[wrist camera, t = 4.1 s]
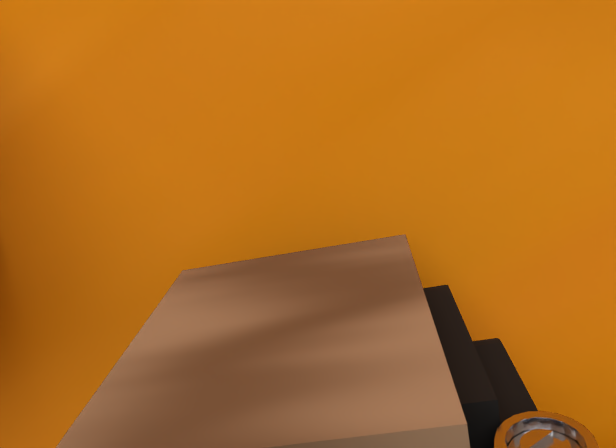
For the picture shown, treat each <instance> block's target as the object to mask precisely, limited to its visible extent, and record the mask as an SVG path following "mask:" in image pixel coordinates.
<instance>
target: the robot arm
mask: <svg viewBox="0 0 616 448" xmlns="http://www.w3.org/2000/svg"><path fill="white" fill-rule="evenodd" d="M423 290H424V293H425V297H426V300H427V303H428V306H429V309H430V312H431V315H432V318H433V321H434V324H435V327H436V330H437V333H438V336H439V339H440V342H441V345H442V349H443V352H444V355H445V358H446V361H447V364H448V367H449V370H450V373H451V376H452V379H453V382H454V385H455V388H456V391H457V394H458V397H459V401H460V404H461V407H462V410H463V413H464V416H465V419H466V422H467V427H468V435H469V443H470V448H599V446H598V444H597V442H596V440H595V437H594V435H593V434H592V433H591V432H590V431H589V430H588V429H587V428H586V427H585V426H584V425H582V424H580V423H579V422H577V421H575V420H574V419H572V418H569V417H567V416H564V415H561V414H558V413H552V412H546V411H538V410H537V408H536V406H535V404H534V402H533V401H532V399H531V397H530V395H529V393H528V391H527V389H526V387H525V386H524V384H523V382H522V380H521V378H520V376H519V374H518V372H517V371H516V369H515V367H514V365H513V363H512V361H511V359H510V357H509V355H508V354H507V352H506V350H505V348H504V346H503V344H502V342H501V341H500V340H499V339H498V338H494V339H487V340H480V341H472V339H471V337H470V335H469V332H468V330H467V328H466V325H465V323H464V321H463V319H462V316H461V314H460V312H459V309H458V307H457V305H456V303H455V300H454V298H453V296H452V293H451V291H450V289H449V286H448V285H442V286H436V287H429V288H423Z"/></svg>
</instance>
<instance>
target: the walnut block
mask: <svg viewBox="0 0 616 448" xmlns="http://www.w3.org/2000/svg"><path fill="white" fill-rule="evenodd" d="M56 448H470V443H469V435H468V427H467V422H466V419H465V416H464V413H463V410H462V407H461V404H460V401H459V397H458V394H457V391H456V388H455V385H454V382H453V379H452V376H451V373H450V370H449V367H448V364H447V361H446V358H445V355H444V352H443V349H442V345H441V342H440V339H439V336H438V333H437V330H436V327H435V324H434V321H433V318H432V315H431V312H430V309H429V306H428V303H427V300H426V297H425V293H424V290H423V287H422V284H421V281H420V278H419V275H418V272H417V269H416V266H415V263H414V260H413V257H412V254H411V251H410V248H409V245H408V241H407V238H406V235H399V236H392V237H386V238H380V239H374V240H368V241H362V242H356V243H349V244H343V245H337V246H331V247H325V248H319V249H312V250H306V251H300V252H294V253H288V254H282V255H275V256H269V257H263V258H257V259H251V260H245V261H239V262H232V263H226V264H220V265H214V266H208V267H202V268H195V269H189V270H183V271H182V272H181V274H180V275H179V276H178V278H177V279H176V281H175V282H174V283H173V285H172V286H171V288H170V289H169V290H168V292H167V293H166V295H165V296H164V297H163V299H162V300H161V302H160V303H159V304H158V306H157V307H156V309H155V310H154V311H153V313H152V314H151V316H150V317H149V318H148V320H147V321H146V323H145V324H144V325H143V327H142V328H141V330H140V331H139V332H138V334H137V335H136V336H135V338H134V339H133V341H132V342H131V343H130V345H129V346H128V348H127V349H126V350H125V352H124V353H123V355H122V356H121V357H120V359H119V360H118V362H117V363H116V364H115V366H114V367H113V369H112V370H111V371H110V373H109V374H108V376H107V377H106V378H105V380H104V381H103V383H102V384H101V385H100V387H99V388H98V390H97V391H96V392H95V394H94V395H93V396H92V398H91V399H90V401H89V402H88V403H87V405H86V406H85V408H84V409H83V410H82V412H81V413H80V415H79V416H78V417H77V419H76V420H75V422H74V423H73V424H72V426H71V427H70V429H69V430H68V431H67V433H66V434H65V436H64V437H63V438H62V440H61V441H60V443H59V444H58V445H57V447H56Z"/></svg>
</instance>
